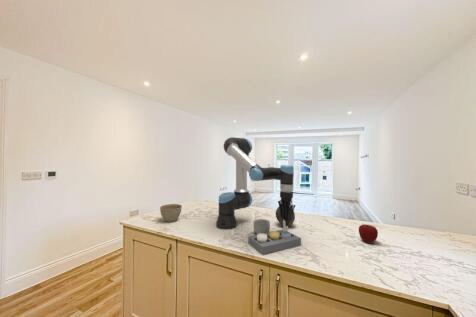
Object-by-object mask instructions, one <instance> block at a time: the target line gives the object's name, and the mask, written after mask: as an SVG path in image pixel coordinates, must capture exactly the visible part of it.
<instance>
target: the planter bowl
mask: <svg viewBox="0 0 476 317" xmlns="http://www.w3.org/2000/svg"><path fill="white" fill-rule="evenodd" d="M182 207H183V206H182V205H181V204H179V203H178V204H176V203H170V204H169V203H168V204H164V205H162V206H160V207H159V209H160V216H161V217H162V219H163V220H164V222H166V221H167V222H166V223H173V222H172V221H174V222H176V221H178V218H179V217H180V215H181V213H182Z"/></svg>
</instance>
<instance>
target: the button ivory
mask: <svg viewBox="0 0 476 317" xmlns="http://www.w3.org/2000/svg"><path fill="white" fill-rule="evenodd" d="M256 235H257V242H259V243H260V244H261V243H265V242H267V235H266V234H264V233H259V234H257V233H256Z"/></svg>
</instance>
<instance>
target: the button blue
mask: <svg viewBox="0 0 476 317" xmlns="http://www.w3.org/2000/svg"><path fill="white" fill-rule="evenodd" d="M289 232H290V231H288V232H282V233H281V236H283V237H284V238H288V237H291V233H292V232H290V233H289Z"/></svg>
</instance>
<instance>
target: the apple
mask: <svg viewBox="0 0 476 317" xmlns="http://www.w3.org/2000/svg"><path fill="white" fill-rule="evenodd" d="M378 231H379V230H378V229H377V228H376V227H375V226H373V225H370V224H361V225H359V226H358V234H359V237H360V239H361V240H362V241H363V242H365V243H367V244H372V243H374V242H376V241H377V238H378V236H379V232H378Z"/></svg>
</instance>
